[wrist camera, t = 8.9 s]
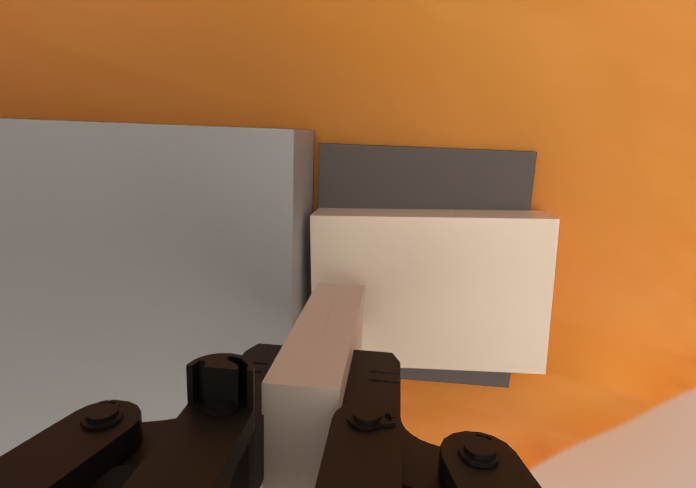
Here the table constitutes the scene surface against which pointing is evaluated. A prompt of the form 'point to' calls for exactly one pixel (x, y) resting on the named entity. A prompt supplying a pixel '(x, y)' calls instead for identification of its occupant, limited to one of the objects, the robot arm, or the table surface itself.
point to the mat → (427, 197)
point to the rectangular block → (445, 282)
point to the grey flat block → (142, 259)
